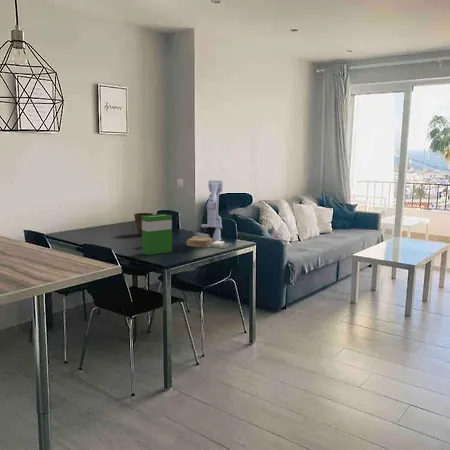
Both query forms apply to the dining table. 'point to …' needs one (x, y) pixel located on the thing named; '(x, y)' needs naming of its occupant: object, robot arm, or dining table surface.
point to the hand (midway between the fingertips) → (211, 238)
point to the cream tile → (218, 243)
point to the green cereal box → (156, 234)
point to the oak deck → (199, 241)
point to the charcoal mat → (221, 246)
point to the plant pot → (140, 220)
